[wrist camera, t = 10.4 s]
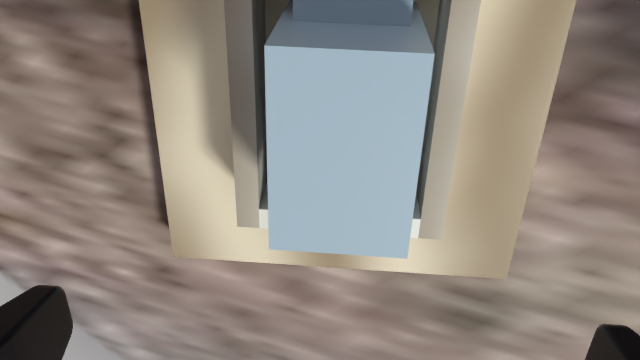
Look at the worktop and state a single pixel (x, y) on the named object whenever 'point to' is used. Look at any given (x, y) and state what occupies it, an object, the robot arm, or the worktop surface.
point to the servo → (345, 125)
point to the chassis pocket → (438, 143)
